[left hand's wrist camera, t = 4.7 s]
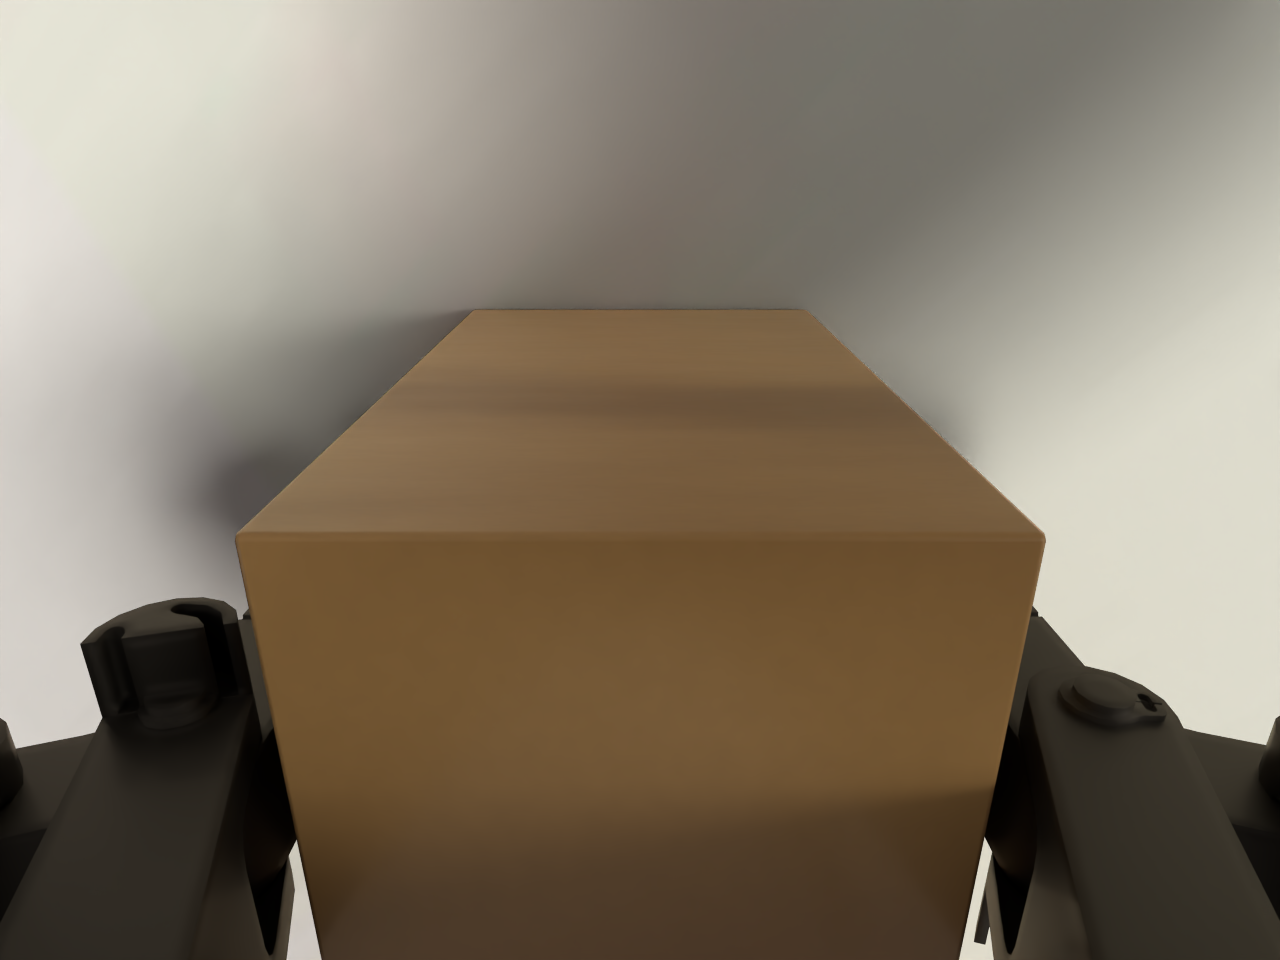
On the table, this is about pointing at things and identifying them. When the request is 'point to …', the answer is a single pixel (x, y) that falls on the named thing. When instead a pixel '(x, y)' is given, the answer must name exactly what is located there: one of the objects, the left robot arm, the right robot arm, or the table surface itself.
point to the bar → (640, 650)
